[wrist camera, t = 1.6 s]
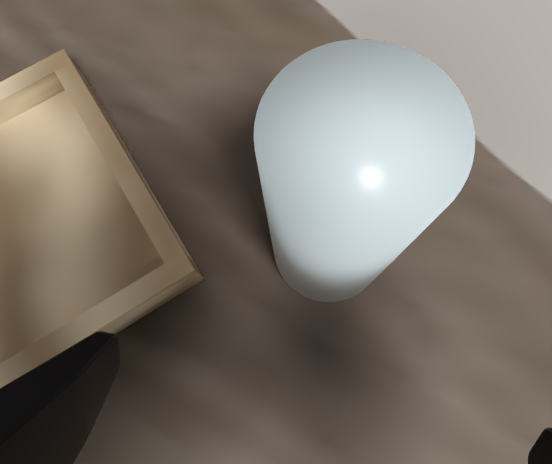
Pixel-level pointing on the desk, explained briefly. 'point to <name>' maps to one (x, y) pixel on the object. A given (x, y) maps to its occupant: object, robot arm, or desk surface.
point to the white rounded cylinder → (357, 161)
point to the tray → (74, 222)
